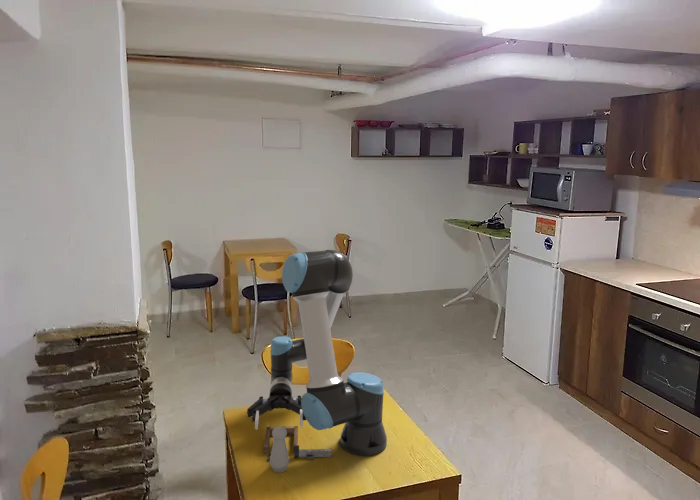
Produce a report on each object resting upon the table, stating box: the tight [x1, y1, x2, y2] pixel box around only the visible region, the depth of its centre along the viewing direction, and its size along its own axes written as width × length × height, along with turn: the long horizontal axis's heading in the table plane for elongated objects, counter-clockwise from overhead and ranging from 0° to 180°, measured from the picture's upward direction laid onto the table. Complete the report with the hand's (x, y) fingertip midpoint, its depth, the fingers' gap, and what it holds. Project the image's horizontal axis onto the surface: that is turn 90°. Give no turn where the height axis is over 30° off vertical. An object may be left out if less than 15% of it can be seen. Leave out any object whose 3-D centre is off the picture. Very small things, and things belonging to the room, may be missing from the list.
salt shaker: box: [269, 426, 290, 473], centre depth 162 cm, size 6×6×13 cm
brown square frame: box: [263, 425, 314, 462], centre depth 175 cm, size 15×16×2 cm
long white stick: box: [293, 445, 332, 459], centre depth 169 cm, size 12×1×3 cm, turn 95°
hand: (278, 424), depth 164 cm, fingers open, 13 cm apart
